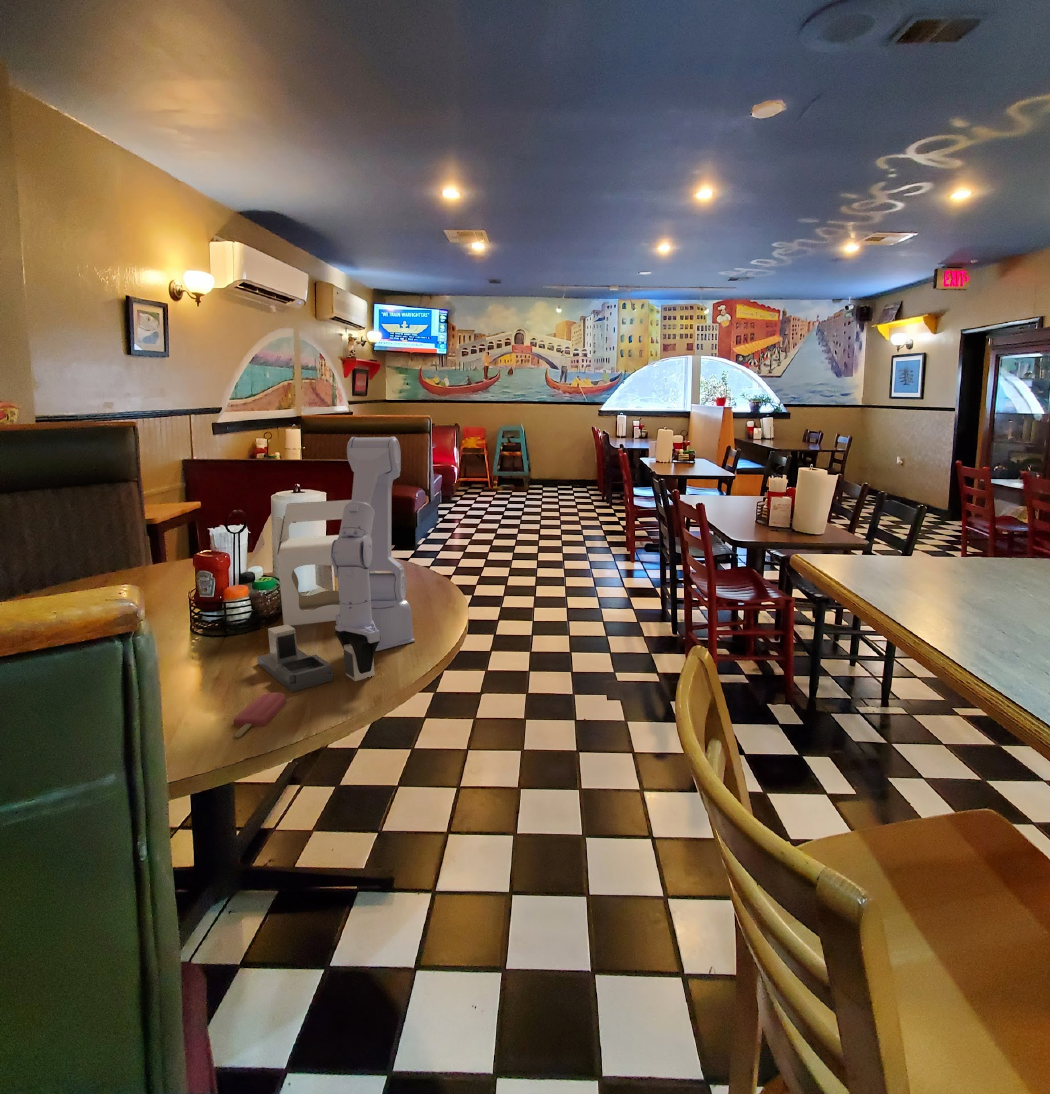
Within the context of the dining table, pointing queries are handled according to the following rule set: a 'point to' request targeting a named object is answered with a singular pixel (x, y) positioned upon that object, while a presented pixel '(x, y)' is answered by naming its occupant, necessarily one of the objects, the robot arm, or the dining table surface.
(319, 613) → the gable box
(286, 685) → the grey socket block stand
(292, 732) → the dining table surface
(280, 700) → the popsicle
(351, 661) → the block
